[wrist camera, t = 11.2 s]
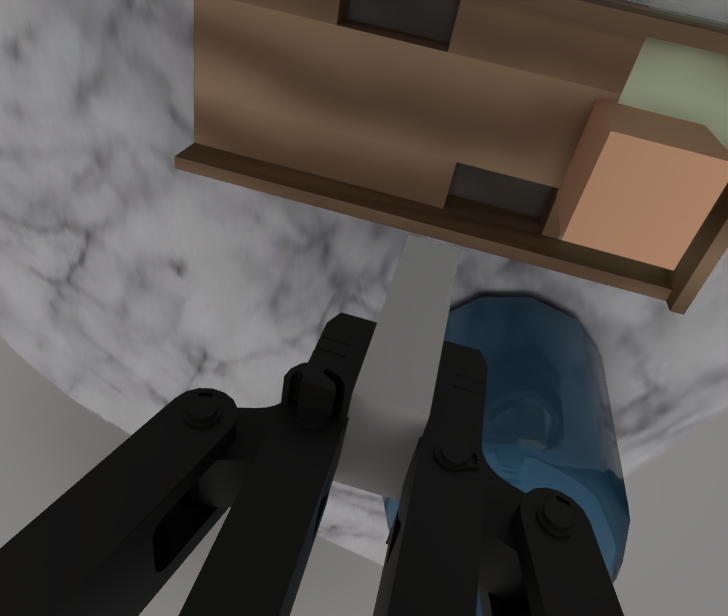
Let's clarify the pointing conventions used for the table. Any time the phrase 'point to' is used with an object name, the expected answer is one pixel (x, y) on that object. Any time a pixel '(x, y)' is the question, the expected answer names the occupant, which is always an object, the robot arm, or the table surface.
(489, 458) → the wine bottle
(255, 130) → the trap box
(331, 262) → the table surface
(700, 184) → the block
